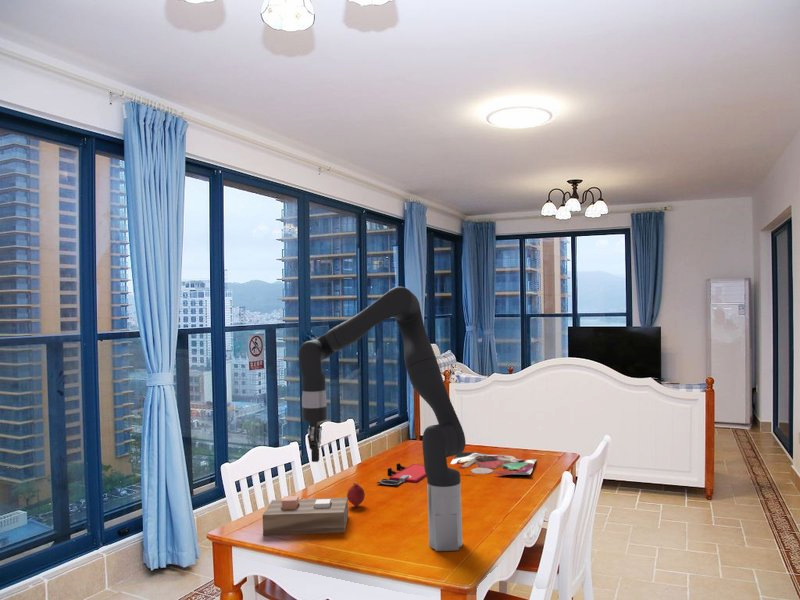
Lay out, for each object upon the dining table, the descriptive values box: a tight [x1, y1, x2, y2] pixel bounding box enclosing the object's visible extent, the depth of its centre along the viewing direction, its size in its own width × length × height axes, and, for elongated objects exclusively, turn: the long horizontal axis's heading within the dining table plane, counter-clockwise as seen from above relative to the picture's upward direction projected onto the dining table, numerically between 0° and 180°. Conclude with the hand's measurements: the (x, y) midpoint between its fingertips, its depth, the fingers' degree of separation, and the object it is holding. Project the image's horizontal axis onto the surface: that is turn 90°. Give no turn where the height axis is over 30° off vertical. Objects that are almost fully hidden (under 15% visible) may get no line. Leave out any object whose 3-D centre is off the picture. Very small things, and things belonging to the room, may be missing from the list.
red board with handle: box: [376, 462, 427, 486], centre depth 240 cm, size 30×3×15 cm
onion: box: [346, 482, 366, 508], centre depth 204 cm, size 6×6×8 cm
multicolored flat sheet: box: [450, 451, 537, 477], centre depth 253 cm, size 35×35×2 cm
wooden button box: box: [262, 497, 349, 536], centre depth 187 cm, size 14×24×6 cm, turn 90°
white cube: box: [315, 498, 331, 508], centre depth 187 cm, size 4×4×4 cm
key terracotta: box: [281, 495, 300, 509], centre depth 187 cm, size 4×4×4 cm
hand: (315, 461), depth 188 cm, fingers closed
